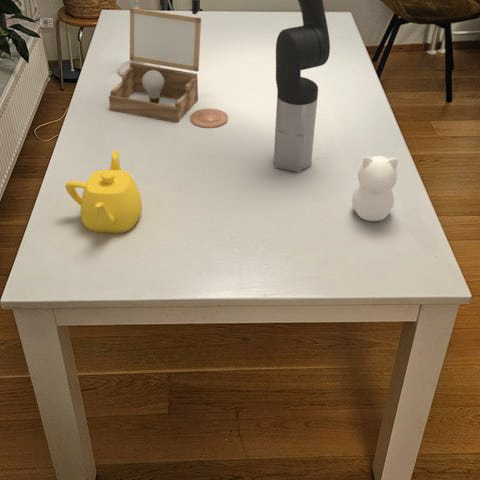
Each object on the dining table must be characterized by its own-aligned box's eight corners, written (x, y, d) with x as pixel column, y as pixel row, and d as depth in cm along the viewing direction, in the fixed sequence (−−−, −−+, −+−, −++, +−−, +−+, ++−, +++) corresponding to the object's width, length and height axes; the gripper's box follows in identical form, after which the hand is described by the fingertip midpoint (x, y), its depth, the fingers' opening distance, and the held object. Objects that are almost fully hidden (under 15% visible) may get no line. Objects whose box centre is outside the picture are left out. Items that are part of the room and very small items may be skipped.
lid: (200, 18, 184) (201, 18, 185) (130, 8, 190) (131, 7, 190) (197, 71, 191) (198, 70, 192) (129, 60, 196) (131, 59, 197)
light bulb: (155, 112, 191) (153, 77, 185) (139, 105, 194) (136, 71, 187) (169, 104, 194) (168, 70, 188) (154, 98, 197) (152, 64, 191)
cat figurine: (351, 226, 150) (360, 166, 141) (348, 193, 160) (356, 135, 151) (393, 228, 150) (405, 169, 141) (388, 195, 160) (398, 137, 151)
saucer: (220, 130, 183) (220, 128, 183) (184, 124, 186) (184, 121, 185) (233, 114, 191) (233, 111, 190) (199, 108, 193) (199, 105, 193)
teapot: (80, 188, 160) (74, 146, 154) (148, 190, 160) (145, 148, 154) (58, 247, 143) (50, 202, 136) (134, 249, 143) (130, 205, 136)
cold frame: (177, 122, 186) (176, 94, 181) (110, 109, 191) (107, 82, 186) (197, 100, 197) (197, 73, 192) (133, 89, 202) (131, 62, 197)
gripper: (145, -56, 170) (148, 11, 180) (199, -48, 166) (199, 20, 176) (159, -63, 176) (161, 1, 186) (211, -56, 172) (211, 10, 182)
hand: (180, 10), depth 181 cm, fingers open, 8 cm apart
